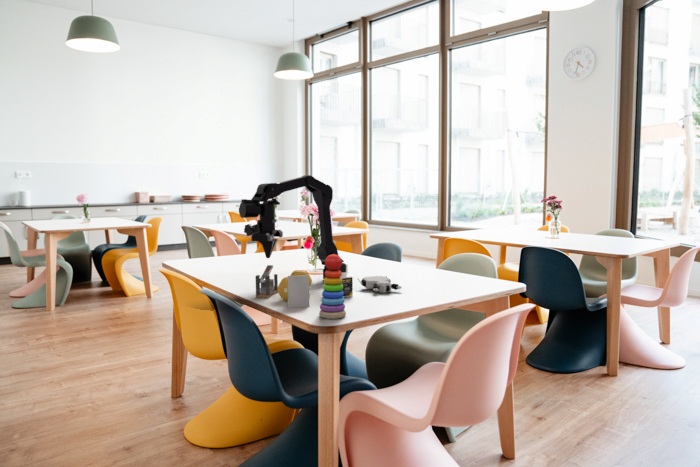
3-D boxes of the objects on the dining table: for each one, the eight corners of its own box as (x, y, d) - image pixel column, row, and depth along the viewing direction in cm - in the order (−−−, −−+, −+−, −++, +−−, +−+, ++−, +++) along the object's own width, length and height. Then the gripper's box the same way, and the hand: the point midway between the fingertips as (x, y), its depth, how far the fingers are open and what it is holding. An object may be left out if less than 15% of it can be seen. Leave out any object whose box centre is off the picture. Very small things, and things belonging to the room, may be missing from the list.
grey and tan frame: (266, 292, 191) (265, 271, 191) (277, 292, 191) (277, 271, 190) (255, 298, 181) (255, 276, 180) (268, 298, 180) (267, 276, 180)
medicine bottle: (334, 298, 179) (334, 264, 178) (326, 294, 186) (325, 261, 185) (352, 296, 183) (352, 262, 182) (343, 292, 189) (343, 260, 188)
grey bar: (268, 267, 190) (267, 264, 189) (273, 267, 189) (272, 264, 188) (259, 283, 181) (259, 280, 180) (265, 283, 181) (264, 280, 180)
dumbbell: (301, 302, 174) (301, 278, 173) (275, 301, 175) (275, 278, 175) (313, 291, 193) (313, 269, 192) (289, 290, 194) (289, 269, 193)
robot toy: (403, 295, 189) (385, 285, 202) (404, 283, 188) (385, 274, 202) (373, 298, 184) (356, 287, 198) (373, 286, 183) (356, 276, 197)
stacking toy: (333, 321, 149) (332, 256, 147) (313, 316, 154) (312, 254, 152) (351, 316, 155) (350, 254, 153) (332, 311, 160) (331, 251, 158)
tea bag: (309, 306, 167) (309, 276, 167) (288, 307, 166) (288, 277, 165) (308, 304, 171) (308, 274, 170) (288, 305, 170) (287, 275, 169)
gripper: (255, 215, 205) (256, 254, 206) (237, 218, 186) (238, 261, 188) (282, 215, 203) (283, 255, 204) (266, 218, 184) (267, 261, 186)
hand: (268, 258), depth 195 cm, fingers closed
